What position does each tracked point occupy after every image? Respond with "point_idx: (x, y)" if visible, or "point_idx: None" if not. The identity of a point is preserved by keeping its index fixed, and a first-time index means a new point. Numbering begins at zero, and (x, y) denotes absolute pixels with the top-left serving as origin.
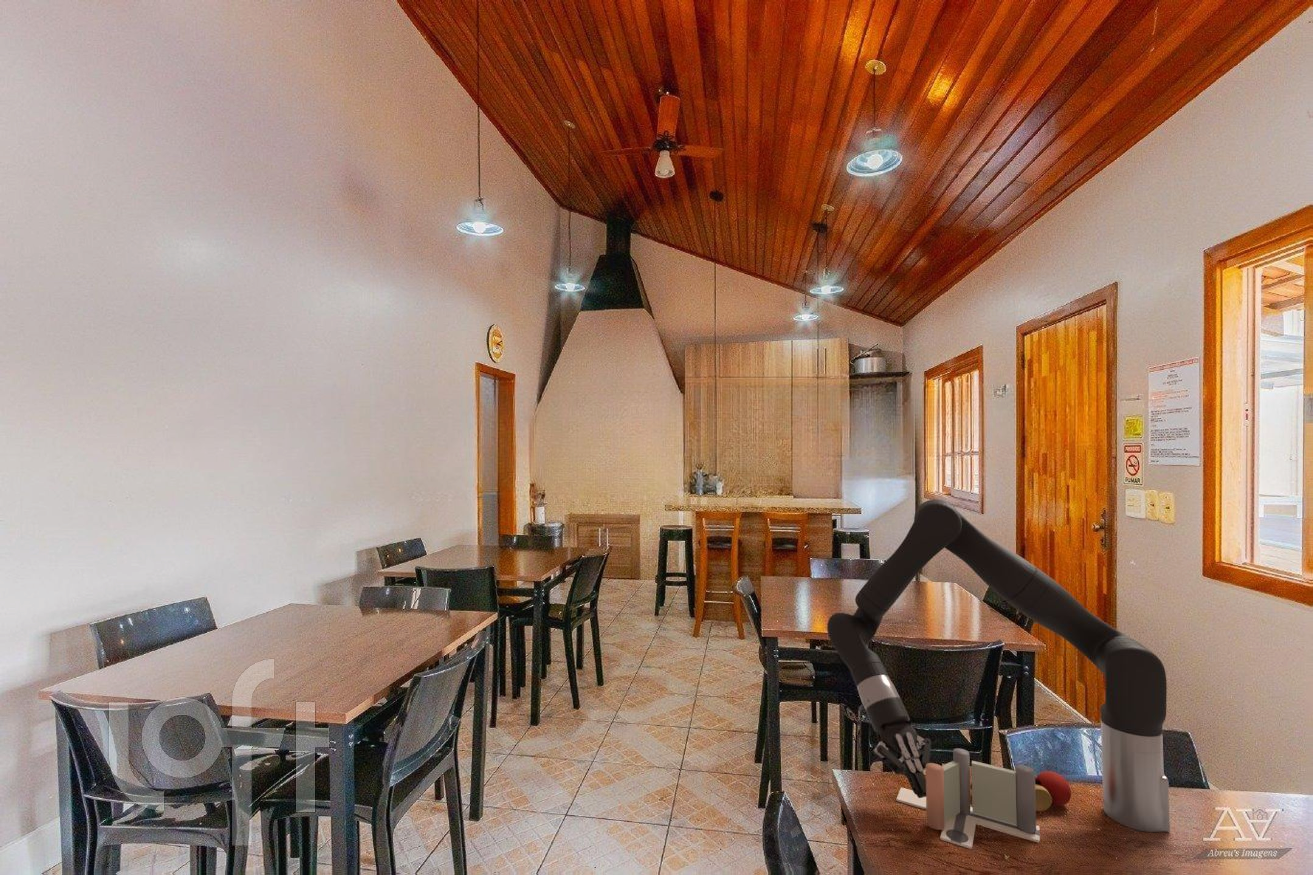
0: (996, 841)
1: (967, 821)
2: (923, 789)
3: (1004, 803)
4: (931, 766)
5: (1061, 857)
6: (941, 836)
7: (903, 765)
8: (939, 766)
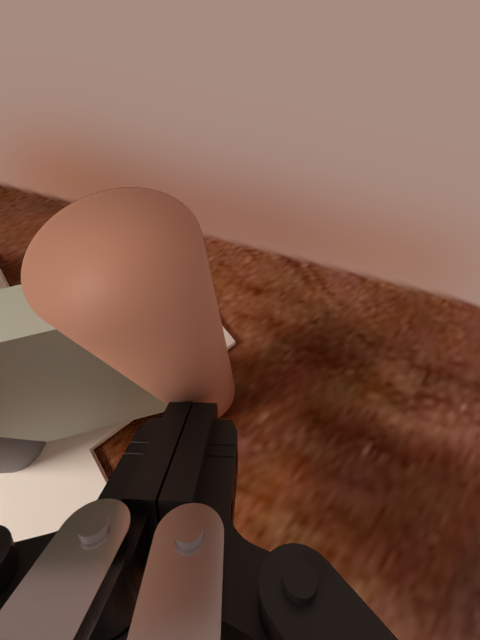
0: None
1: None
2: (201, 414)
3: None
4: (131, 271)
5: (13, 207)
6: (228, 343)
7: (295, 593)
8: (53, 248)
